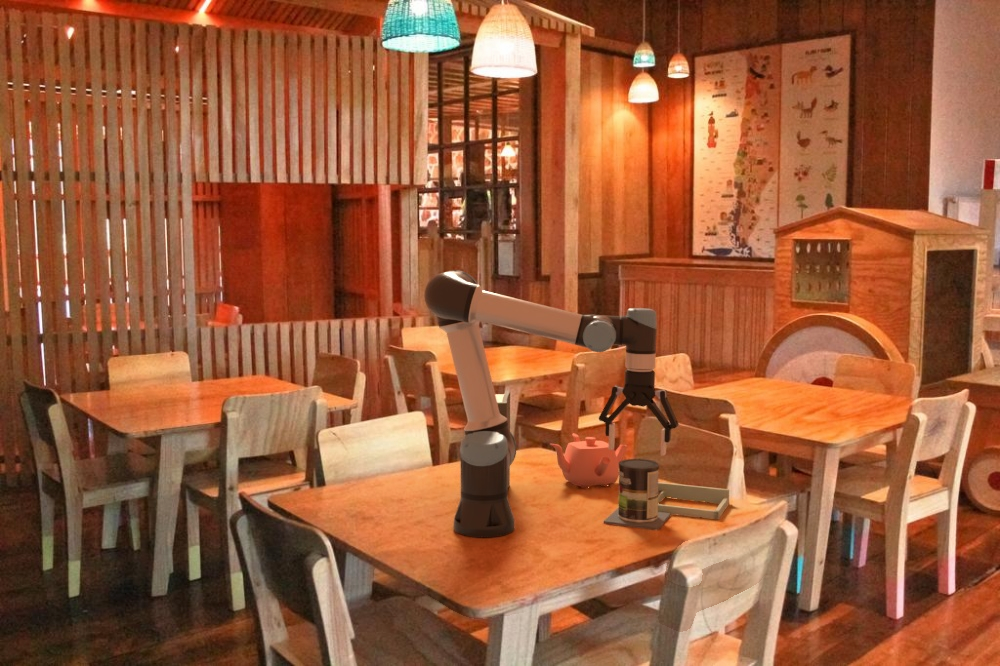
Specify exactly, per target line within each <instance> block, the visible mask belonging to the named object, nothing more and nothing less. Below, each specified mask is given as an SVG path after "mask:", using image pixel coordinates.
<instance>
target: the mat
mask: <svg viewBox="0 0 1000 666" xmlns="http://www.w3.org/2000/svg"><path fill="white" fill-rule="evenodd" d="M618 509H619V507H617V508H616V509H615V510H614V511H613V512H612V513H611V514H610V515H608V517H606V518H605V519H604V520H603V524H606V525H613V526H614V525H615V526H621V527H629V528H638V529H645V530H654V531H659V530H660V528H661V527H662V526H663V525H664V524H665V523H666V522H667V520H668V519H669V518H671V517H670V515H671V516H672V514H671V513H667V512H659V511H658V519H657V520H655V521H652V522H646V523H637V522H629V521H625V520H622V519H620V518H619V517H618V511H619V510H618Z"/></svg>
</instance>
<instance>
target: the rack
mask: <svg viewBox="0 0 1000 666" xmlns="http://www.w3.org/2000/svg"><path fill="white" fill-rule="evenodd" d="M664 497H671V498H677V499H676V500H680V499H685V500H684V501H689V500H694V501H693V502H698V501H705V502H704V503H707V502H711V503H710V504H716V503H717V504H718V506H717V507H716V508H715V510H714V509H705V508H696V507H688V506H687V507H686V506H678V505H669V504H660V503H661V502H662V501H663V500H664V499H665V498H664ZM663 498H664V499H663ZM671 498H670V499H671ZM662 499H663V500H662ZM661 500H662V501H661ZM660 501H661V502H660ZM659 502H660V503H659ZM658 503H659V504H658V511H659V512H667V513H671V515H675V514H678V515H677V516H683V515H684V516H685V517H694V518H700V517H702V518H701V519H711V520H719V519H720V517H721V516H722V514H723V513H724V511H726V509H727V507H728V506H729V505H730V488H720V487H711V486H710V487H709V486H700V485H699V486H698V485H690V484H681V483H671V482H663V481H658Z"/></svg>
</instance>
